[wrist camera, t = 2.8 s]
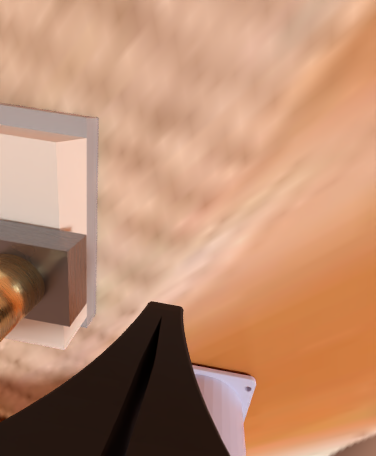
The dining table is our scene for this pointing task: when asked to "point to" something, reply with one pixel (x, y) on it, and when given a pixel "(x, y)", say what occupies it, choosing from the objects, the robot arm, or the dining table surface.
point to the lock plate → (51, 194)
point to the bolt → (41, 275)
